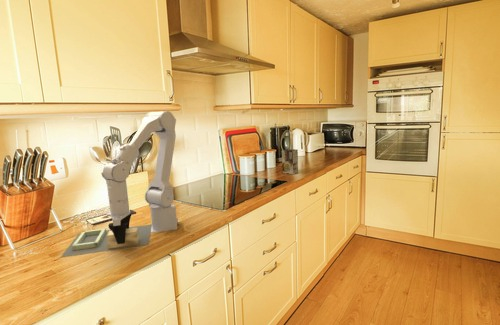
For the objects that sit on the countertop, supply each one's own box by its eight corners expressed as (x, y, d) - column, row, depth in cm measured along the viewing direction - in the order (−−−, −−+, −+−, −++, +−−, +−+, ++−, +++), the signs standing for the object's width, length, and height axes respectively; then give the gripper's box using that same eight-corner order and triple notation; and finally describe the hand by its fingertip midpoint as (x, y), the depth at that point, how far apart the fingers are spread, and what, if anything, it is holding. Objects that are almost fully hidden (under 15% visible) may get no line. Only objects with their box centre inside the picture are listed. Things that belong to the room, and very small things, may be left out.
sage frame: (106, 232, 109) (105, 228, 109) (97, 246, 97) (97, 242, 97) (83, 235, 108) (83, 231, 107) (72, 250, 96) (71, 246, 95)
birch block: (138, 239, 102) (137, 227, 101) (137, 244, 98) (136, 231, 97) (110, 243, 100) (109, 230, 99) (108, 248, 96) (106, 235, 95)
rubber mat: (152, 225, 116) (152, 224, 115) (148, 246, 97) (148, 244, 97) (79, 235, 109) (78, 233, 109) (60, 258, 91) (60, 257, 91)
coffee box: (298, 172, 201) (298, 149, 198) (293, 174, 196) (292, 150, 194) (287, 171, 207) (286, 148, 204) (282, 173, 202) (281, 149, 200)
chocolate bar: (136, 212, 131) (93, 224, 118) (136, 214, 131) (93, 226, 119) (127, 208, 137) (85, 219, 124) (127, 210, 137) (85, 221, 125)
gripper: (109, 195, 102) (114, 232, 104) (100, 207, 88) (105, 249, 90) (131, 192, 104) (135, 229, 106) (125, 204, 90) (129, 246, 92)
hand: (123, 238), depth 98 cm, fingers open, 7 cm apart
